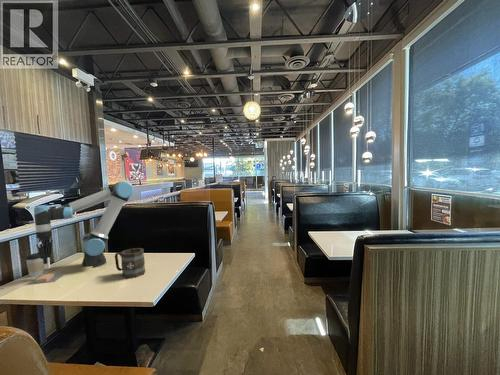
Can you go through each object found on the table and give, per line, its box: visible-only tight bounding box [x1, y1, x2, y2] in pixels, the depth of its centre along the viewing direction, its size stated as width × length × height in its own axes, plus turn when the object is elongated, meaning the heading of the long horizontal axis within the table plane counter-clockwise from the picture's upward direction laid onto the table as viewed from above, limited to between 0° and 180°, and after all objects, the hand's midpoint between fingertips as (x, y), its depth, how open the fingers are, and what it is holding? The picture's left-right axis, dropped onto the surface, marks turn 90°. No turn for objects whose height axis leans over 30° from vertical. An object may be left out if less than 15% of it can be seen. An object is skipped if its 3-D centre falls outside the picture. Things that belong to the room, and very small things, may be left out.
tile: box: [34, 273, 55, 283], centre depth 160 cm, size 6×2×8 cm
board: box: [24, 272, 69, 286], centre depth 162 cm, size 16×16×1 cm
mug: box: [114, 247, 146, 279], centre depth 165 cm, size 20×14×15 cm
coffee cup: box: [25, 251, 44, 278], centre depth 170 cm, size 9×9×15 cm
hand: (47, 268), depth 163 cm, fingers closed
